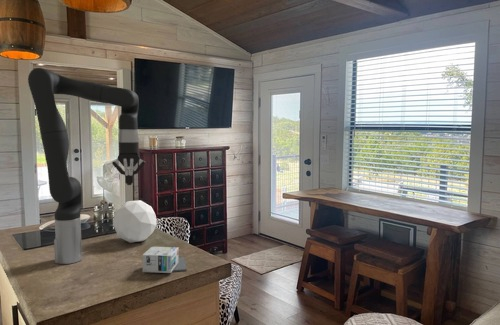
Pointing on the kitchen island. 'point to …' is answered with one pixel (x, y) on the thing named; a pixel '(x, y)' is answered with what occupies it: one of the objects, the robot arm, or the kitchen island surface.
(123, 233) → the ball
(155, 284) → the kitchen island surface
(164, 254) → the light bulb box
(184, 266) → the mat
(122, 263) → the kitchen island surface
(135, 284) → the kitchen island surface
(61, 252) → the robot arm
